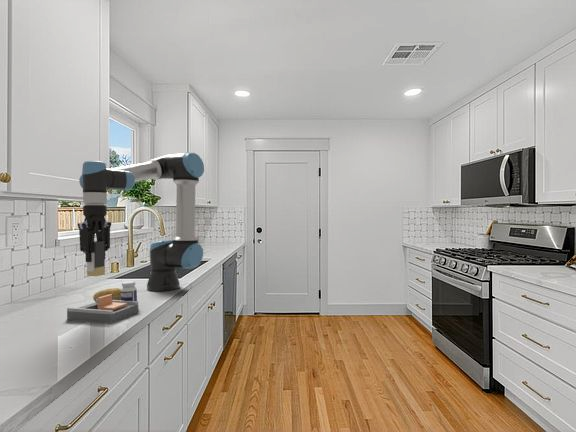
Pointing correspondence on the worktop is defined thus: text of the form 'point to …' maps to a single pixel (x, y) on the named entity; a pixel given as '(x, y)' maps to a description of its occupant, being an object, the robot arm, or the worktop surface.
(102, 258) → the plug
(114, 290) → the potato
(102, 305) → the shutter
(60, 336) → the worktop surface
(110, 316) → the grey slab
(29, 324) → the worktop surface
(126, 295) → the pill bottle
